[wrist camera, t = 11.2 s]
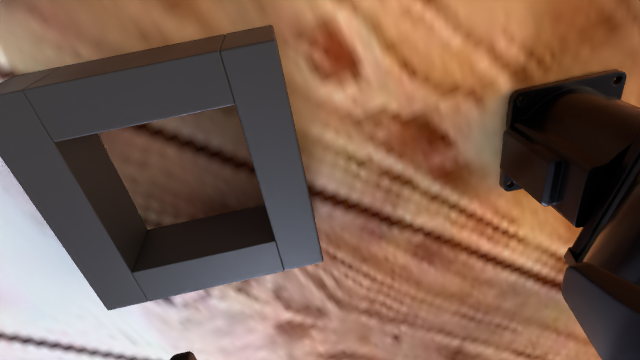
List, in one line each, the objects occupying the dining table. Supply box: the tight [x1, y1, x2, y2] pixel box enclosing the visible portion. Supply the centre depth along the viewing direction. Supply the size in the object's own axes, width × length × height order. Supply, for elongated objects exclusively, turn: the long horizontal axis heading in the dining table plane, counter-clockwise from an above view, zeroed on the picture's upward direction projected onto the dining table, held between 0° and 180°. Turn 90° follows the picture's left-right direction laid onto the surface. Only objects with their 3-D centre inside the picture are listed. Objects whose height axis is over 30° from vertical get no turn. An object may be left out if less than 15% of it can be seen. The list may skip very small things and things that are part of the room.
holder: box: [0, 25, 323, 310], centre depth 19 cm, size 12×12×4 cm
